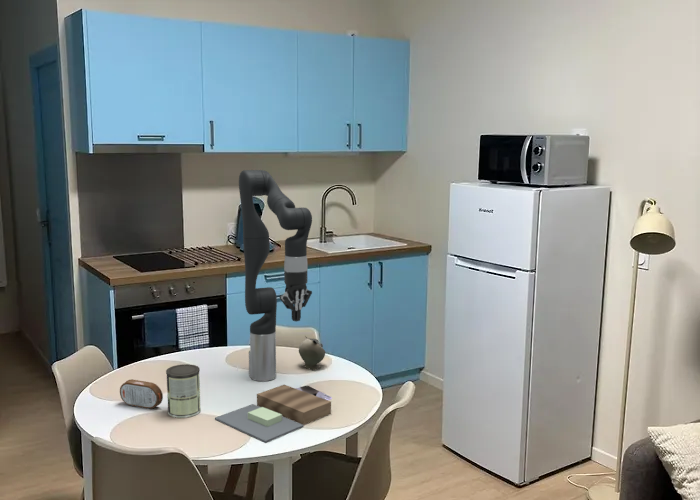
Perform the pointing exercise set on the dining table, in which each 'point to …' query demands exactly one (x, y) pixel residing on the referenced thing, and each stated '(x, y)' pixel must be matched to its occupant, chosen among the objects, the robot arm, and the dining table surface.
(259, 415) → the sponge
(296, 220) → the robot arm
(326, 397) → the mobile phone
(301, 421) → the walnut stand
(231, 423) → the mat
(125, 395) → the tin
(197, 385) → the coffee can
